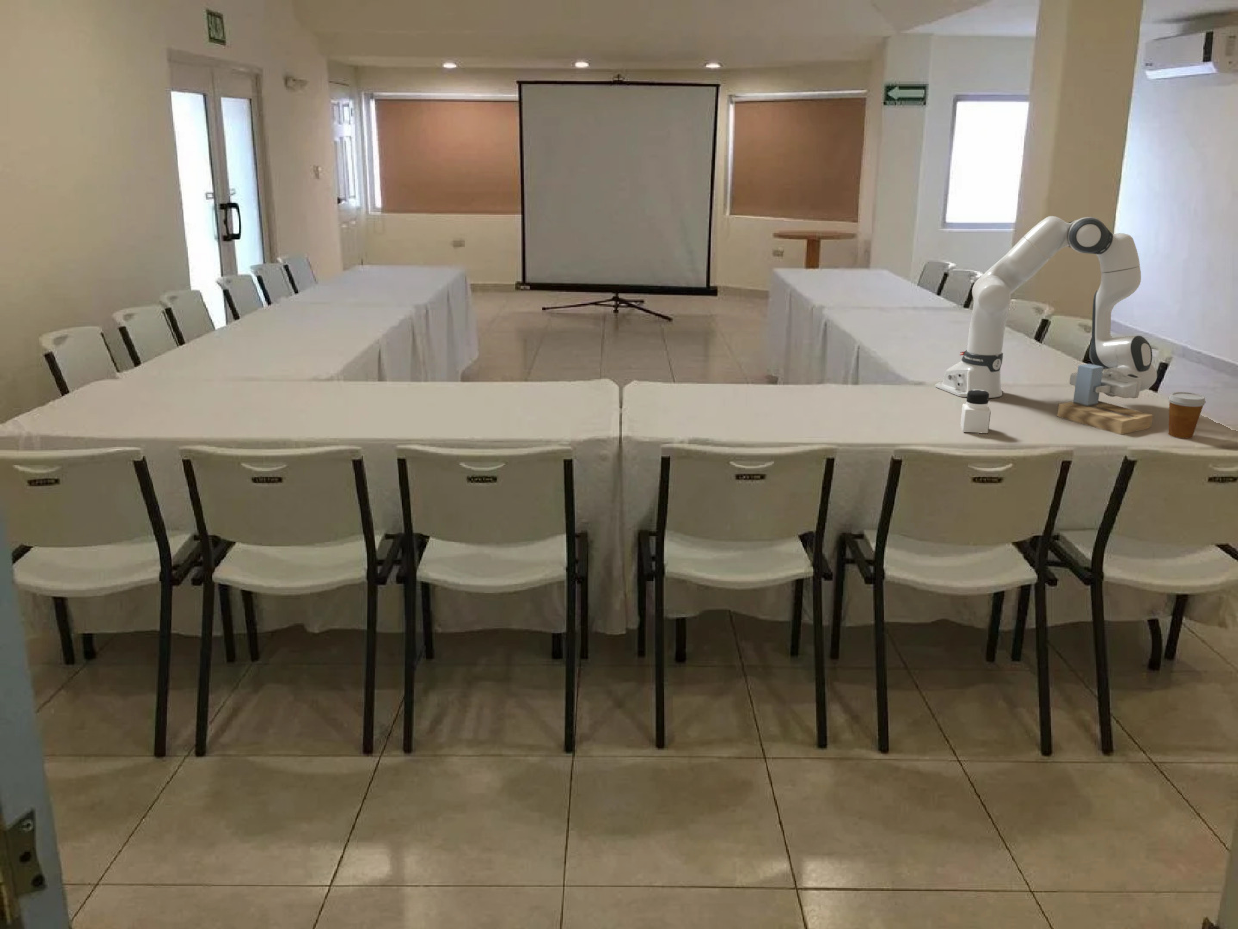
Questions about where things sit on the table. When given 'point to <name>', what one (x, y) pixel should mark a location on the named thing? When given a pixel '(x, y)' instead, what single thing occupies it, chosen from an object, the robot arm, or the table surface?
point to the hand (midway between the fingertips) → (1085, 387)
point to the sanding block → (1087, 384)
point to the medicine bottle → (976, 412)
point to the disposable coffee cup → (1184, 413)
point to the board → (1106, 417)
